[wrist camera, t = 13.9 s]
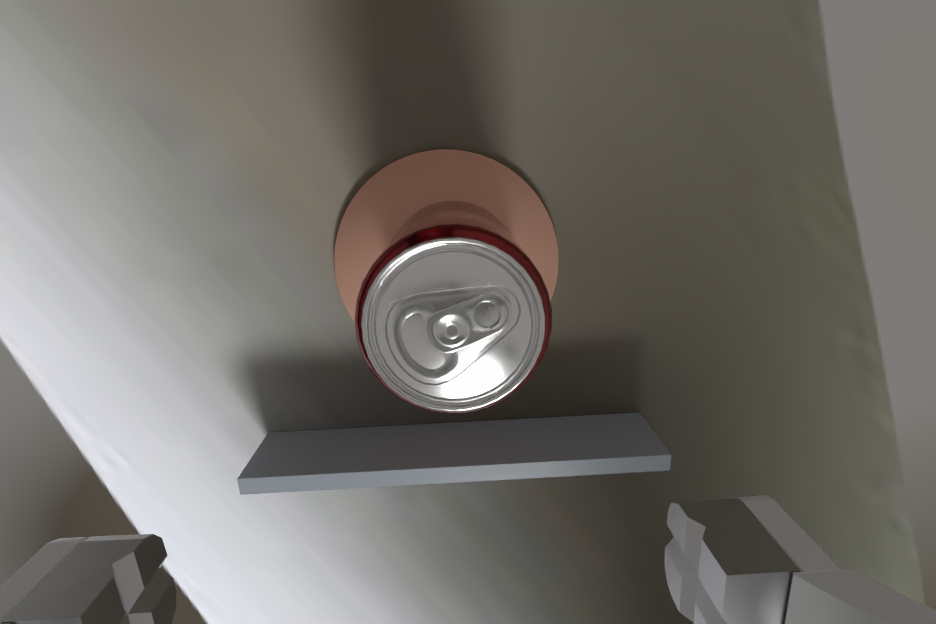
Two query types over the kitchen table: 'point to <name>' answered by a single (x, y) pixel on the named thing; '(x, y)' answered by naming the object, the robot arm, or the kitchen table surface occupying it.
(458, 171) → the terracotta mat
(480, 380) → the soda can
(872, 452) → the kitchen table surface
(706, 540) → the robot arm
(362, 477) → the acrylic wall
